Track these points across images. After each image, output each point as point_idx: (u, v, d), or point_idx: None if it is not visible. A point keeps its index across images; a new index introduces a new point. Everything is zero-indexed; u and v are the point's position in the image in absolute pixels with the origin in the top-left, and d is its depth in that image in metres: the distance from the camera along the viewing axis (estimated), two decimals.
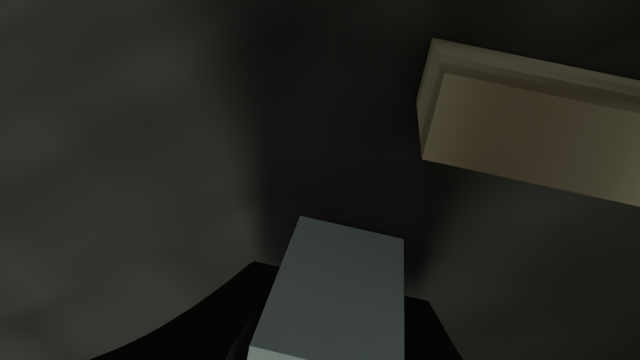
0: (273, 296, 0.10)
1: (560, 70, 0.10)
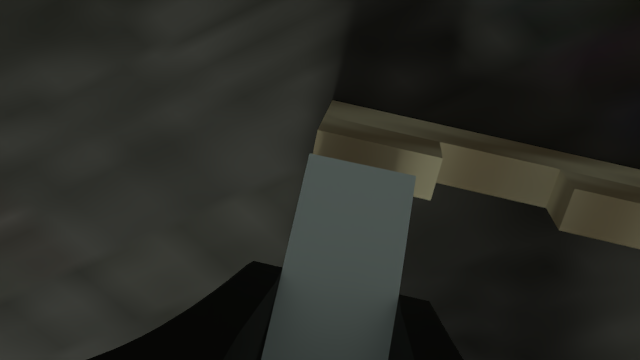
0: (277, 305, 0.11)
1: (399, 122, 0.18)
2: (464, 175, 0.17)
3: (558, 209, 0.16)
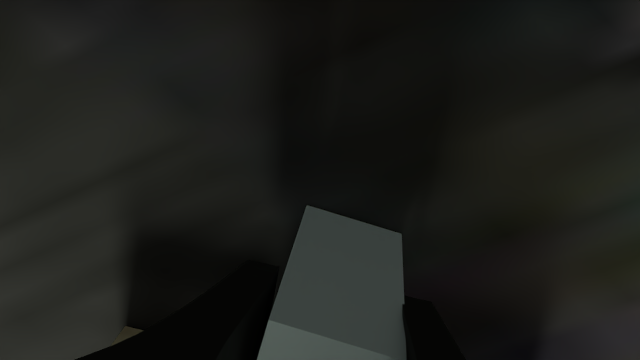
0: (287, 277, 0.10)
1: None
2: None
3: None
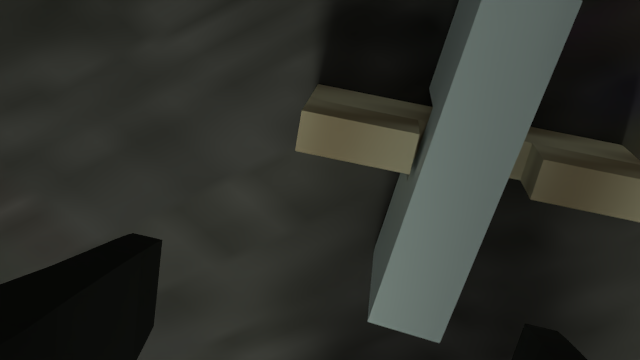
0: None
1: (380, 103, 0.19)
2: None
3: (530, 180, 0.17)
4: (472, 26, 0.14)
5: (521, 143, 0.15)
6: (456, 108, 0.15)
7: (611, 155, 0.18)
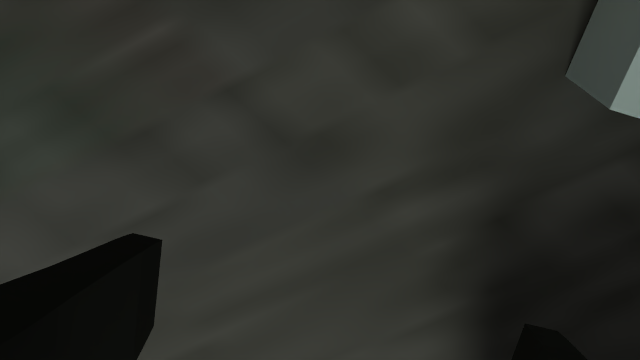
0: None
1: None
2: None
3: None
4: None
5: None
6: None
7: None
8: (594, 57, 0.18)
